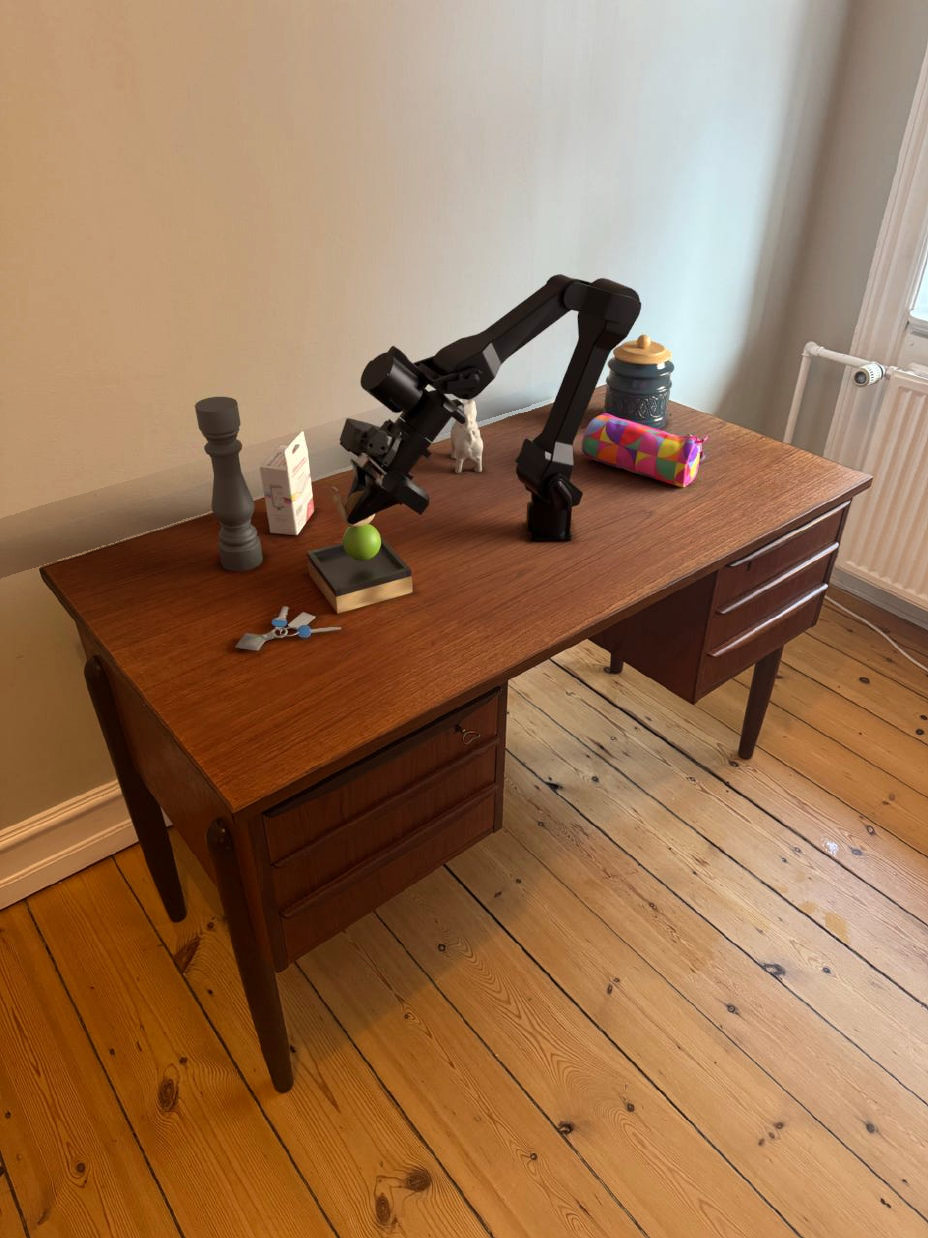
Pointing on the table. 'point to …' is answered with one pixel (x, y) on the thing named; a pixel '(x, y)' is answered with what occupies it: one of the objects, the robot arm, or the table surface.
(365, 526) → the green two-tone figurine
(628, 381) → the canister
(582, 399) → the robot arm
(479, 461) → the white animal figure
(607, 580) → the table surface
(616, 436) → the pencil case
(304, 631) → the key chain
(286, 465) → the ink cartridge box
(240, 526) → the candle holder
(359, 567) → the square tray
